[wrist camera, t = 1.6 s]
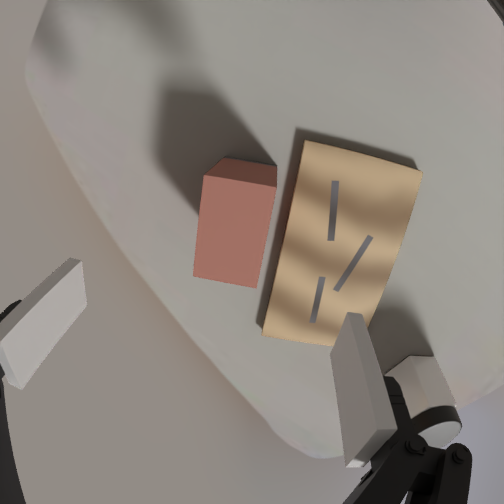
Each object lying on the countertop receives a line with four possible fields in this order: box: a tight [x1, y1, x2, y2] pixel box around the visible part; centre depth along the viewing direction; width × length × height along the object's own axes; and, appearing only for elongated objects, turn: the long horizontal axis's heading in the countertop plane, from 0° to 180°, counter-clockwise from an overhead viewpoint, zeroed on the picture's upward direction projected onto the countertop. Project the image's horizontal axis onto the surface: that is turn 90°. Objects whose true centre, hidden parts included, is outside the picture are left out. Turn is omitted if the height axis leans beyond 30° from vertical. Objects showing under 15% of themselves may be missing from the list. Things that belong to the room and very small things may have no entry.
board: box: [262, 139, 423, 346], centre depth 32 cm, size 22×12×1 cm, turn 170°
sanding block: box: [193, 157, 277, 288], centre depth 27 cm, size 8×5×9 cm, turn 170°
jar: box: [385, 356, 462, 448], centre depth 34 cm, size 9×8×12 cm
